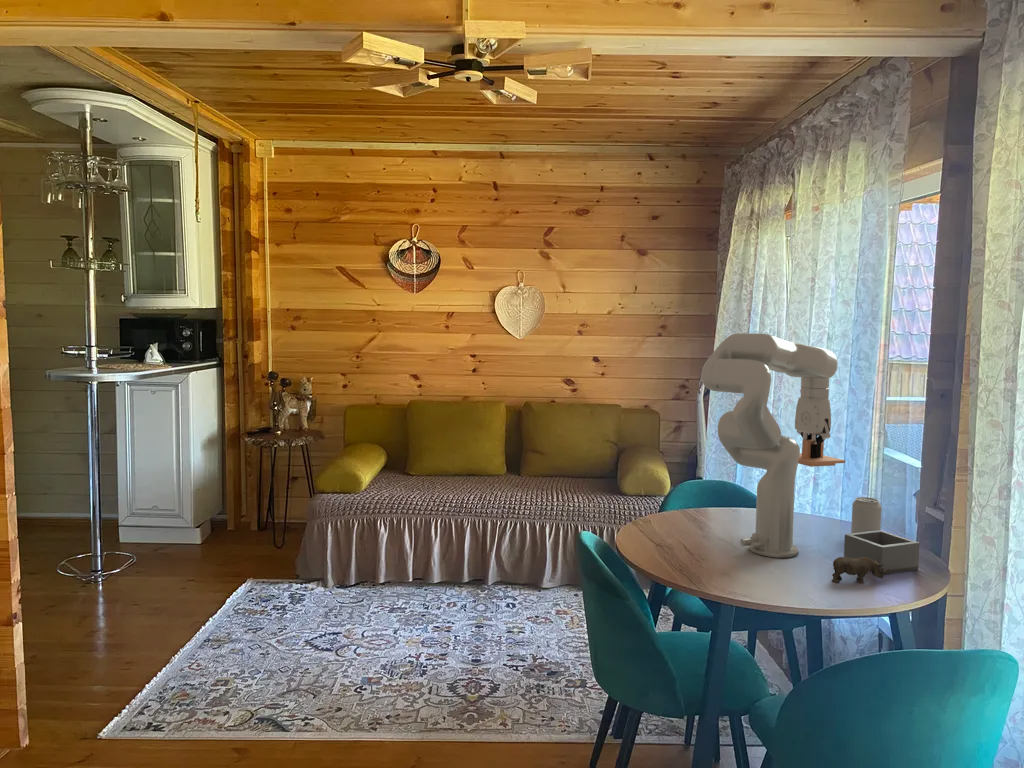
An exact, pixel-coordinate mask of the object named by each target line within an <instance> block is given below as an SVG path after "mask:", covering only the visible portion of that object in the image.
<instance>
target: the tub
mask: <svg viewBox="0 0 1024 768" xmlns="http://www.w3.org/2000/svg"><path fill="white" fill-rule="evenodd" d="M843 547H844V549H843V557H849V558H853V559H857V558H862V557H867V558H870V559H871V560H873V561H876V560H877V559H878V560H879V562H878V563H879V564H884V565H883V566H881V567H880V569H881V568H884V570H883V571H886V570H887V569H889V571H888V572H887V573H886V574H885V575H884V576H886V575H893V574H901V573H907V572H914V571H919V563H920V561H919V560H920V542H919V541H915V540H912V539H909V538H906V537H904V536H900V535H898V534H894V533H891V532H888V531H885V530H881V529H880V530H876V531H868V532H859V533H851V532H850V533H845V534H844V546H843Z"/></svg>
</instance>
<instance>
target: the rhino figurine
mask: <svg viewBox="0 0 1024 768" xmlns="http://www.w3.org/2000/svg"><path fill="white" fill-rule="evenodd" d="M878 562H879V560H878V559H877V560H876V561H873V560H871V559H870V558H867V557H862V558H857V559H853V558H849V557H844V556H840V557H837V558H835V559H834V560H833V562H832V566H833V570H834V573H832V575H831V576H832V579H831V582H832V583H835V584H840V580H841V581H842V580H843V577H842V576H841V575H843V574H844V573H845V574H847V575H849V576H857V578H856V580H857V583H858V584H861V585H864V584H865V581H864V578H865V577H866V576H867V574H869V573H871V574H872V576H874V577H876V578H878V579H883V578H884V576H886V575H885V574H886V573H887V572H888V571H889V569H887V570H886V571H883V570H884V568H881V569H880V567H881V566H883V565H884V564H879V563H878Z"/></svg>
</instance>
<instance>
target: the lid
mask: <svg viewBox="0 0 1024 768" xmlns="http://www.w3.org/2000/svg"><path fill="white" fill-rule="evenodd" d="M801 441H802V444H801V453H800V456H799V461H798V465H803V466H805V467H812V468H813V467H831V466H832V467H835V466H836V464H846V460H845V459H841V458H837V457H833V456H828V455H824V450H825V449H824V445H825V440H824V441H823V444H821V457H820V458H811V444H813V440H803V439H802V440H801Z"/></svg>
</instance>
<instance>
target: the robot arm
mask: <svg viewBox="0 0 1024 768" xmlns="http://www.w3.org/2000/svg"><path fill="white" fill-rule="evenodd" d="M837 370H838V359H837V357H836V355H835V353H833V352H832V351H830V350H829V349H826V348H823V347H818V346H813V345H808V344H807V345H806V344H802V343H798V342H792V341H789V340H784V339H782V338H780V337H777V336H774V335H771V334H767V333H749V332H748V333H739V332H738V333H737V332H736V333H732V334H730V335H729V336H727V337H726V338H724V340H723V341H721V343H720V344H719V345H718V346H717V347H716V348H715V350H714V351H713V352H712V353H711V354H710V355H709V357H708V358H707V359H706V361H705V363H704V364H703V367H702V370H701V381H702V384H703V385H704V387H705V388H706V389H707V390H709V391H711V392H712V391H713V392H718V393H719V392H720V393H730V394H731V393H733V394H743V396H742V397H741V398H740V399H739V400H738V402H737V403H736V404H735V406H734V408H733V410H731V411H730V410H729V411H727V412H726V411H725V413H723V414H722V415H721V417H720V418H719V419H718V423H717V436H718V438H719V441H720V443H721V445H722V447H724V449H725V450H726V452H727V453H728V454H729V455H730V457H731V458H732V460H734V461H735V463H737V464H738V465H741V466H744V467H749V468H757V469H762V470H766V472H765V473H764V474H763V476H762V477H761V478H760V479H759V480H758V483H757V487H756V507H755V508H756V509H755V510H756V512H755V532H754V533H753V532H752V534H751V537H750V538H741V539H740V541H739V542H740V545H741V547H746V546H749V547H748V549H749V550H750V551H751V552H752V553H754V554H757V555H758V556H759V555H760V556H764V557H770V558H777V559H778V558H782V559H783V558H785V559H786V558H787V559H788V558H793V557H796V556H798V555H799V551H800V550H799V548H798V546H796V545H794V544H793V543H794V542H793V540H794V519H795V517H794V513H795V490H796V489H795V488H796V476H797V469H798V466H799V464H798V461H799V456H800V454H801V448H800V445H799V444H798V442H797V441H796V440H795V439H794V438H792V437H789V436H786V435H782V431H781V428H780V426H779V423H778V422H777V421H776V419H775V417H774V416H773V415H772V412H771V411H770V409H769V407H768V401H769V396H770V395H769V394H770V390H771V385H772V372H771V371H773V372H775V373H776V372H777V373H783V374H785V375H787V376H789V377H791V378H800V391H799V392H800V397H798V399H797V403H796V409H795V416H794V418H795V419H794V429H795V430H796V433H797V434H798V435H800V436H801V438H802V441H803V440H813V444H811V458H820V457H821V444H823V441H824V442H825V440H826V439H830V438H831V429H832V410H831V408H832V407H831V403H830V402H831V401H830V399H829V395H830V378H833V377H834V376H835V374H836V373H837Z"/></svg>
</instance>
